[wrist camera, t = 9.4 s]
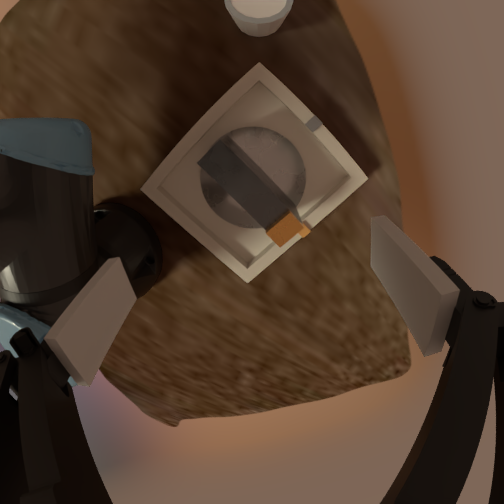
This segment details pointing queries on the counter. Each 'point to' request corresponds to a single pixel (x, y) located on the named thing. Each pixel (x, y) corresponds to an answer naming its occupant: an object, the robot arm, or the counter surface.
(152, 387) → the counter surface
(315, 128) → the housing
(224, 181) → the dial
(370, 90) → the counter surface
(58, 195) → the robot arm
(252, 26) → the shot glass
